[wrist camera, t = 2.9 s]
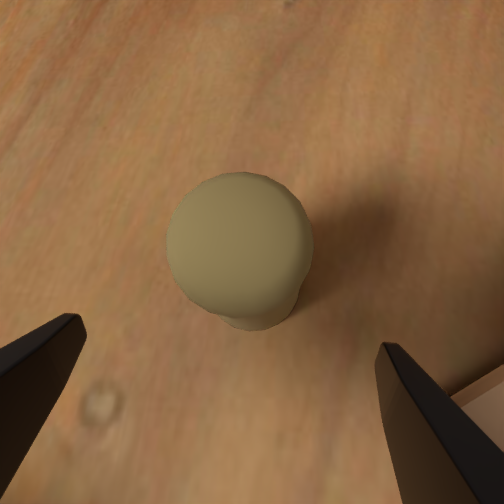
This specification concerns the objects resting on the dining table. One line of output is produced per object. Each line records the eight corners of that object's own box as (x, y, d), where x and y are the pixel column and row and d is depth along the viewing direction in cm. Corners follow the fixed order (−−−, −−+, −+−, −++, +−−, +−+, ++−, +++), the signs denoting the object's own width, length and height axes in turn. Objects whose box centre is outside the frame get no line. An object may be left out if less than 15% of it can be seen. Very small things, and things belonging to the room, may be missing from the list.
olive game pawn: (201, 327, 20) (122, 322, 9) (211, 235, 21) (154, 139, 11) (298, 335, 19) (333, 340, 9) (302, 240, 21) (336, 146, 10)
